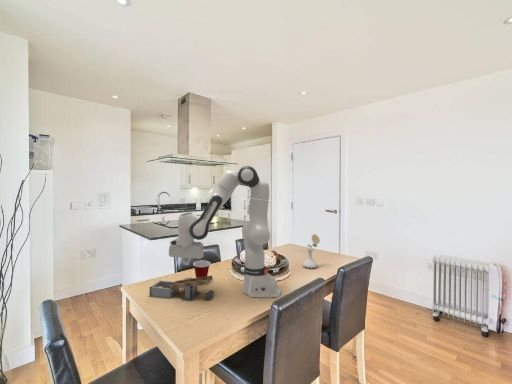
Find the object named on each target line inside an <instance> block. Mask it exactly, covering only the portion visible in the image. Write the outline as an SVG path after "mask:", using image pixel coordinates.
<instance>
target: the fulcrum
mask: <svg viewBox="0 0 512 384" xmlns="http://www.w3.org/2000/svg"><path fill="white" fill-rule="evenodd" d="M198 287H199V286H192V287H191V286H189V285H186V286H185V288H184V296H183V297H182V298H181V301H185V302H186V301H187V302H193V301H194V300H196V298H198V296H199V295H200V294H201V293H202V292H201V291H199V290H198Z"/></svg>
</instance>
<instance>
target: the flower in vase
mask: <svg viewBox="0 0 512 384" xmlns="http://www.w3.org/2000/svg"><path fill="white" fill-rule="evenodd" d="M311 241H312V245H310V244H307V247H308V248H307V249H306V250H307V253H308V254H307V255H308V257H307V259H306V260H305V261H303V262H302V264H301V266H302V267H304V268H306V267H307V268H308V269H315V268H317V267H318V266H319V265H318V263H317V262H316V260H314V259H313V258H312V257H313V255H312V254H313V251H314V248H317V247H318V244H319V243H320V238H319V236H318V235H317V234H316V233H313V234H312V235H311ZM312 247H313V248H312Z"/></svg>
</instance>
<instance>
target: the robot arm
mask: <svg viewBox="0 0 512 384" xmlns="http://www.w3.org/2000/svg"><path fill="white" fill-rule="evenodd" d="M239 186H244V187H248V188H249V189H250V194H249V195H250V196H249V202H248V210H247V211H248V215H249V216H248V217H249V218H248V219H249V221H248V222H246V223H244V224H243V226H242V228H241V232H242V238H243V244H244V245H243V246H244V255H245V259H244V263H245V265H244V269H243V274H244V275H243V276H244V281H243V284H242V285H243V286H242V288H241V291H242V293H243V294H245V295H247V296H248V297H249V298H272V297H276V298H279V297H280V296H281V294H282V289H281V287H280V286H278V282H277V279H276V278H275V277H274V276H272V275H271V274H270V273H269V269H268V268H269V267H268V266H265V251H264V248H263V245H266V244H268V242H269V241H270V238H271V233H270V230H269V221H268V212H269V211H268V210H269V201H270V185H269V183H268V182H267V181H265V180H261V179H260V178H259V176H258V172H257V170H256V169H255V168H254V167H253V166H250V165H245V166H242V167H241V168H240V169H239V170H238V171H237V172H236V171H234V170H233V169H231V170H230V169H227V170H225V171H224V172H223V173H222V174H221V176H220V177H219V178H218V180H217V182H216V183H215V185H214V186H213V187H212V188H213V189H212V192H211V195H210V197H209V200H208V202H207V205H206V207H205V208H204V209H203V211H202V212H201V215H200V216H198V215H196V214H194V213H193V212H186V213H181V214H180V215H179V217H178V220H177V221H178V222H177V230H178V234H177V238H174V239H173V240H170V241H169V244H170V245H169V247H168V256H169V257H170V258H180V260H181V261H182V265H183V266H189V265H190V261H191V260H192V259H197V260H198V259H202V258H203V257H204V255H205V253H204V244H203V242H202V241H200V240H203V239H205V238H206V237H207V235H208V234H209V232H210V230H211V222H212V220H213V218H214V217H215V216H216V214H217V212H218V210H219V209H221V207H222V206H224V205H225V204H226V203H227V202H228V201H229V199H230V198H231V196H232V195H233V193H234V191H235V190H236V188H237V187H239ZM195 240H197V241H195ZM186 259H187V261H186Z"/></svg>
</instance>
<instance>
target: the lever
mask: <svg viewBox="0 0 512 384" xmlns="http://www.w3.org/2000/svg"><path fill="white" fill-rule="evenodd" d="M212 281H213V275H207V276H205V277H199V278H196V277H194V278H192V276H191V277H185V278H183V279H181V280H175V281H174V282H175V283H176V284H174V285H170V288H171V290H172V289H179V290H180V289H183V288H184V289H185V286H186V285H189V286H191V287H192V286H198V287H199V286H204V285H209V284H210V283H211V282H212Z"/></svg>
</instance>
